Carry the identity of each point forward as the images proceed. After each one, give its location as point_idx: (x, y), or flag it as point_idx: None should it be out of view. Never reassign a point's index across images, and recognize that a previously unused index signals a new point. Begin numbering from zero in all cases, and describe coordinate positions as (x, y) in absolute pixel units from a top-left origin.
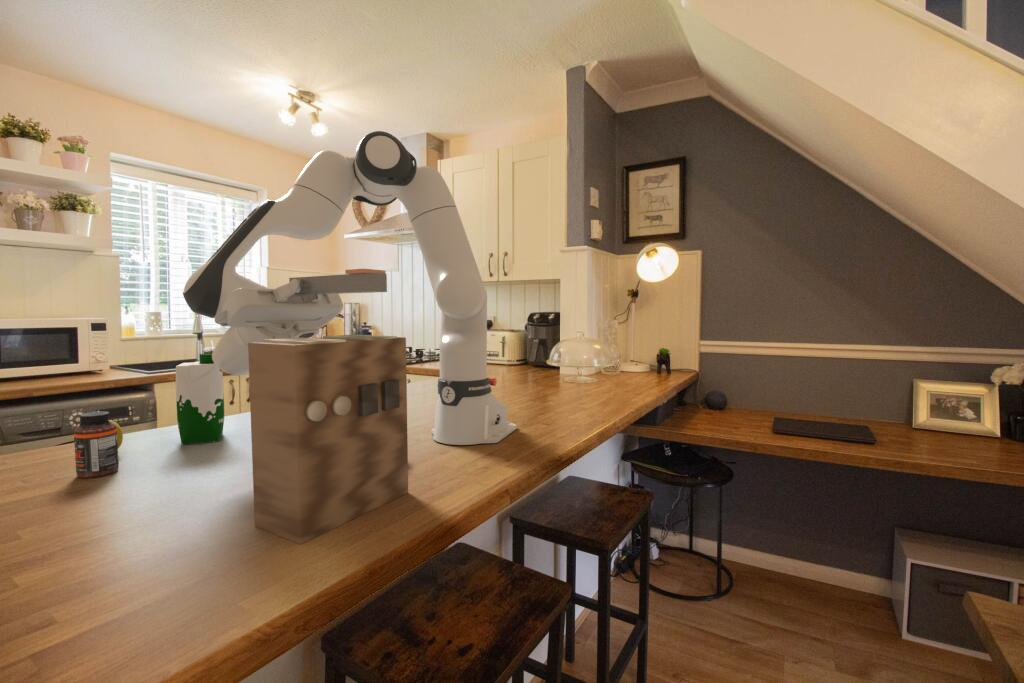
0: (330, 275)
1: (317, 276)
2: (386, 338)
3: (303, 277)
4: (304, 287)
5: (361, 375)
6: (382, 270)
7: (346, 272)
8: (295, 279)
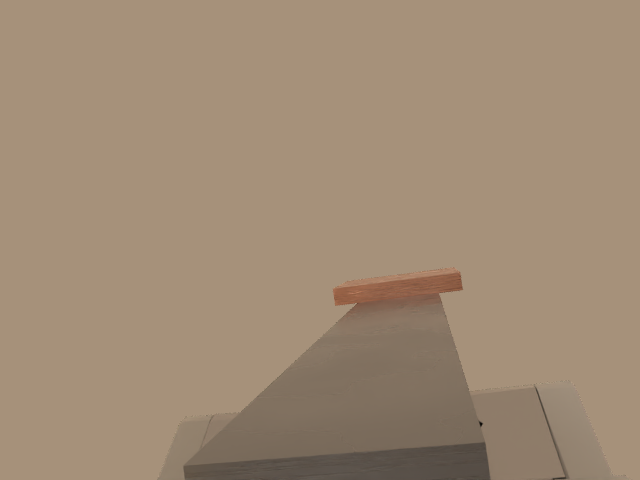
0: (442, 308)
1: (447, 326)
2: None
3: (458, 362)
4: None
5: None
6: (362, 279)
7: (461, 284)
8: (555, 384)
